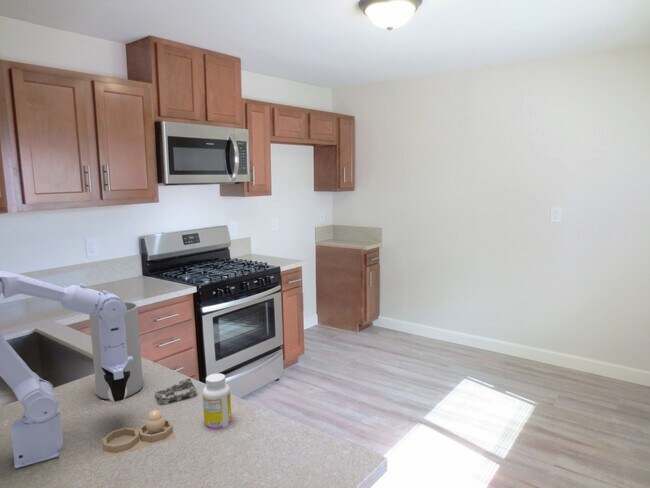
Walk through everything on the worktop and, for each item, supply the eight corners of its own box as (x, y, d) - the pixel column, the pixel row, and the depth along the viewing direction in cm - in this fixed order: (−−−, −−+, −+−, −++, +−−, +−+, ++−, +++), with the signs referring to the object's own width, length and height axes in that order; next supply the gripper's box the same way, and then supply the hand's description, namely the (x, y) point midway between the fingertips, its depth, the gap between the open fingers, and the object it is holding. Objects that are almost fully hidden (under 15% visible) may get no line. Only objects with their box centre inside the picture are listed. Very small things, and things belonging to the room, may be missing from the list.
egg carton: (192, 390, 130) (191, 377, 129) (198, 400, 123) (198, 387, 123) (154, 399, 125) (153, 385, 124) (158, 410, 118) (157, 396, 118)
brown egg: (147, 440, 102) (146, 417, 102) (144, 431, 106) (143, 409, 105) (167, 434, 105) (165, 412, 104) (163, 425, 108) (162, 404, 108)
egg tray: (105, 462, 96) (104, 451, 96) (102, 441, 104) (101, 432, 103) (176, 441, 104) (175, 431, 103) (168, 423, 111) (167, 414, 111)
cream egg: (109, 408, 106) (107, 386, 105) (107, 400, 110) (105, 379, 109) (129, 403, 108) (127, 381, 107) (126, 396, 112) (125, 375, 111)
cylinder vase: (148, 391, 128) (142, 309, 125) (101, 405, 121) (93, 317, 117) (137, 377, 138) (131, 299, 135) (92, 388, 131) (85, 307, 127)
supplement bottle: (222, 415, 115) (220, 369, 113) (237, 425, 110) (234, 376, 108) (199, 425, 110) (196, 377, 108) (213, 436, 105) (210, 385, 104)
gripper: (135, 349, 103) (139, 404, 105) (127, 331, 115) (131, 380, 117) (102, 355, 99) (106, 412, 101) (97, 336, 111) (101, 387, 113)
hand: (117, 396), depth 109 cm, fingers closed on cream egg, 4 cm apart
